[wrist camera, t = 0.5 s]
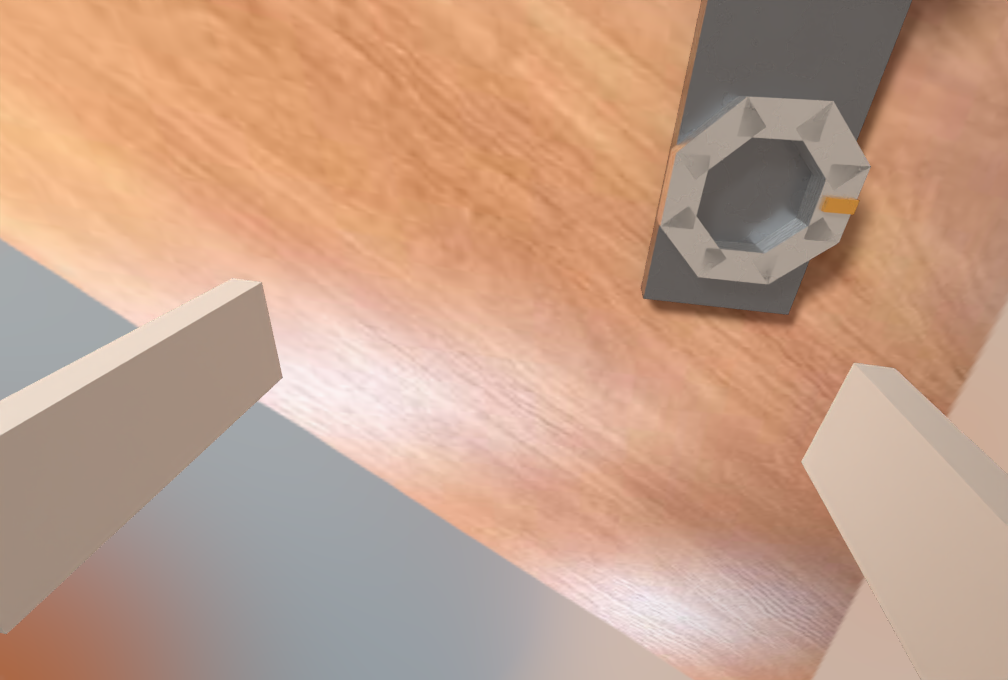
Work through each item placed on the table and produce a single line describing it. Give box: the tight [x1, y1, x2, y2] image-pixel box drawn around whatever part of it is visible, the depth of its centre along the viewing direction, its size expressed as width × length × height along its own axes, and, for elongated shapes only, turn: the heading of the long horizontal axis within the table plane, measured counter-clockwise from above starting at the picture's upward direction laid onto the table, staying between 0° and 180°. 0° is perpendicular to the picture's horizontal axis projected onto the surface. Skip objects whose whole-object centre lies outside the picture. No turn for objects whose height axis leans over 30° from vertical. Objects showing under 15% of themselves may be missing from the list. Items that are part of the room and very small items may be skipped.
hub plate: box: [641, 0, 912, 315], centre depth 28 cm, size 20×10×4 cm, turn 177°
